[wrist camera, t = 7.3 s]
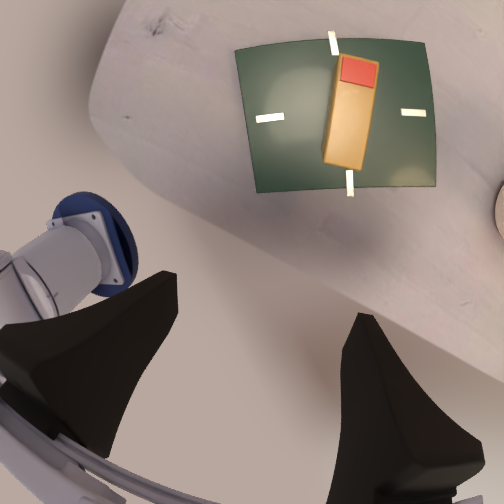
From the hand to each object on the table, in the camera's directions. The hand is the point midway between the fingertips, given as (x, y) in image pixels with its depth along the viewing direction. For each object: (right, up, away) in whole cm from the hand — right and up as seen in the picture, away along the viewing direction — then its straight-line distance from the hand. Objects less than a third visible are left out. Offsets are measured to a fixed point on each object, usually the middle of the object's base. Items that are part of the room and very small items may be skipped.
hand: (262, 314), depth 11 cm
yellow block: (+4, +9, +2) cm, 10 cm away
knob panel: (+5, +11, +4) cm, 12 cm away
